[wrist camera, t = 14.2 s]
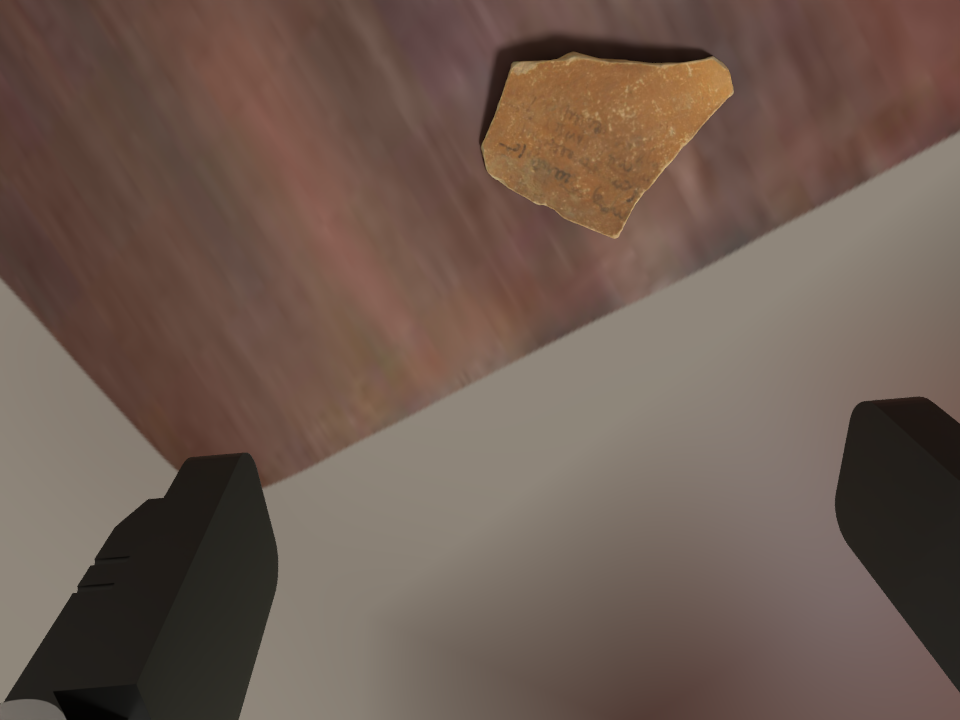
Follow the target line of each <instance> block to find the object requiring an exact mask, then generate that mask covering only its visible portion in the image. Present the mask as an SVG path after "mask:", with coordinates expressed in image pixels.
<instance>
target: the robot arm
mask: <svg viewBox="0 0 960 720" xmlns="http://www.w3.org/2000/svg"><path fill="white" fill-rule="evenodd" d="M835 511H836V517H837V521H838V525H839V528H840V531H841V533H842V535H843V537H844V539H845V541H846V543H847V544H848V546H849V547H850V548H851V549H852V551H853V552H854V553H855V555H856V556H857V557H858V559H859V560H860V561H861V563H862V564H863V565H864V566H865V568H866V569H867V571H868V572H869V573H870V574H871V576H872V577H873V579H874V580H875V581H876V583H877V584H878V585H879V586H880V588H881V589H882V590H883V592H884V593H885V594H886V596H887V597H888V598H889V599H890V601H891V602H892V603H893V605H894V606H895V608H896V609H897V610H898V612H899V613H900V614H901V615H902V617H903V618H904V619H905V621H906V622H907V623H908V625H909V626H910V627H911V629H912V630H913V631H914V633H915V634H916V635H917V636H918V638H919V639H920V641H921V642H922V643H923V644H924V646H925V647H926V649H927V650H928V651H929V652H930V654H931V655H932V656H933V658H934V659H935V660H936V662H937V663H938V664H939V666H940V667H941V668H942V669H943V671H944V672H945V674H946V675H947V676H948V678H949V679H950V680H951V682H952V683H953V684H954V686H955V687H956V688H957V689H958V691H959V692H960V424H959V423H958V422H957V421H956V420H955V419H953V418H952V417H951V416H950V415H948V414H947V413H946V412H944V411H943V410H942V409H941V408H939V407H938V406H937V405H936V404H934V403H933V402H932V401H930V400H929V399H927V398H924V397H909V398H898V399H886V400H873V401H864V402H861V403H859V404H858V405H857V406H856V407H855V408H854V410H853V412H852V415H851V418H850V422H849V428H848V433H847V438H846V443H845V448H844V453H843V459H842V464H841V469H840V475H839V480H838V485H837V490H836V496H835ZM277 578H278V553H277V546H276V541H275V537H274V533H273V529H272V525H271V521H270V518H269V514H268V510H267V506H266V502H265V498H264V495H263V490H262V487H261V483H260V479H259V475H258V471H257V467H256V464H255V462H254V460H253V458H252V456H251V455H250V454H249V453H235V454H223V455H212V456H200V457H190V458H188V459H187V460H186V461H185V462H184V464H183V465H182V467H181V469H180V470H179V472H178V474H177V476H176V477H175V479H174V481H173V483H172V484H171V486H170V488H169V490H168V492H167V493H166V495H165V496H164V498H158V499H148V500H147V501H146V502H144V503H143V504H142V505H141V506H140V507H138V508H137V509H136V510H135V511H134V512H132V513H131V514H130V515H129V516H128V517H127V518H125V519H124V520H123V521H122V522H121V523H119V524H118V525H117V526H116V527H115V528H114V530H113V531H112V533H111V534H110V536H109V537H108V539H107V540H106V542H105V544H104V545H103V547H102V548H101V550H100V551H99V553H98V555H97V556H96V558H95V565H93V566H90V567H89V569H88V570H87V572H86V574H85V575H84V577H83V578H82V580H81V581H80V583H79V584H78V586H77V587H78V591H77V593H73V594H72V595H71V597H70V599H69V600H68V602H67V603H66V605H65V606H64V608H63V610H62V611H61V613H60V614H59V616H58V618H57V619H56V621H55V622H54V624H53V625H52V627H51V628H50V630H49V632H48V633H47V635H46V636H45V638H44V639H43V641H42V643H41V644H40V646H39V648H38V649H37V651H36V652H35V654H34V655H33V657H32V658H31V660H30V661H29V663H28V665H27V667H26V668H25V669H24V671H23V672H22V674H21V676H20V677H19V679H18V681H17V682H16V684H15V685H14V687H13V688H12V690H11V691H10V693H9V695H8V696H7V698H6V699H5V701H4V702H3V703H0V720H238V719H239V716H240V713H241V709H242V706H243V702H244V699H245V695H246V692H247V688H248V685H249V681H250V678H251V675H252V671H253V668H254V664H255V661H256V657H257V654H258V650H259V647H260V643H261V640H262V636H263V633H264V630H265V626H266V622H267V619H268V616H269V612H270V609H271V605H272V602H273V599H274V595H275V591H276V586H277Z"/></svg>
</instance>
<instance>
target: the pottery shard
mask: <svg viewBox="0 0 960 720" xmlns="http://www.w3.org/2000/svg"><path fill="white" fill-rule="evenodd" d="M733 93H734V92H733V85H732V81H731V76H730V72H729V70H728V69H727V67H726V66H725V65H724V64H723V63H722V62H721V61H719V60H717V59H716V58H715V57H714V56H710V57H707V58H705V59H700V60H695V61H688V62H681V63H646V62H639V61H628V60H615V59H599V58H596V57H591V56H588V55H584V54H580V53H577V52H574V51H572V52H571V53H567V54H566V55H564V56H562V57H560V58H558V59H553V60H541V61H520V62H519V61H517V62H513V63H512V64H511V68H510V71H509V73H508V78H507V80H506V83H505V87H504V90H503V93H502V96H501V99H500V101H499V103H498V106H497V110H496V113H495V116H494V118H493V120H492V122H491V125H490V128H489V130H488V132H487V134H486V137H485V139H484V141H483V143H482V146H481V150H482V153H483V157H484V161H485V166H486V170H487V171H488V173H489V174H490V175H491V176H492V177H493V178H495V179H497V180H499V181H500V182H501V183H503V184H504V185H505V186H506V187H508V188H509V189H511V190H513V191H515V192H517V193H518V194H520V195H522V196H524V197H526V198H527V199H529V200H530V201H532V202H534V203H536V204H537V205H546V206H548V207H550V208H552V209H554V210H555V211H556V212H557V213H559V214H560V215H561V216H562V217H563V218H564V219H567V220H569V221H571V222H574V223H577V224H579V225H581V226H584V227H586V228H589V229H591V230H594V231H596V232H599V233H601V234H603V235H606V236H609V237H611V238H615V239H616V238H617V237H619V235H620V232H621V231H622V229H623V227H624V225H625V223H626V221H627V219H628V217H629V215H630V213H631V211H632V209H633V208H634V206H635V204H636V203H637V202H638V200H639V198H640V197H641V196H642V195H643V193H644V191H646V190H648V189H649V188H650V186H651V185H652V184H653V183H654V182H655V180H656V179H657V177H658V176H659V175H660V174H661V173H662V172H663V170H664V169H665V168H666V167H667V166H668V165H669V164H670V163H671V162H672V160H673V159H674V158H675V157H676V155H677V154H678V152H679V151H680V150H681V149H682V147H683V146H685V145H686V144H687V143H688V142H689V141H690V140H691V139H692V138H693V136H694V135H695V134H696V133H697V132H698V130H699V129H700V128H701V126H702V125H703V124H704V123H705V122H706V121H707V120H708V119H709V118H710V116H711V115H712V114H713V113H714V112H715V111H716V110H717V109H718V108H719V107H720V106H721V105H722V104H723V103H724V102H725V101H726V100H727V99H728V98H729V97H730V96H731V95H732V94H733Z"/></svg>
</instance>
